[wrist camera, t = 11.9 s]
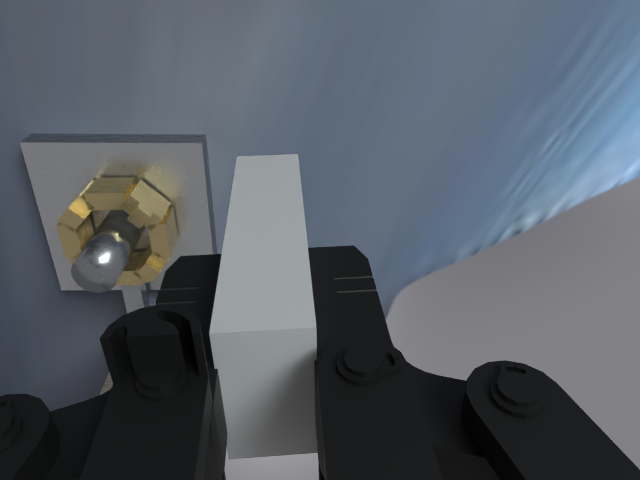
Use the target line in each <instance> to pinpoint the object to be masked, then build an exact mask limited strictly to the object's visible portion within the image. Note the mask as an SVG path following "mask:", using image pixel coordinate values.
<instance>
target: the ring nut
mask: <svg viewBox="0 0 640 480" xmlns="http://www.w3.org/2000/svg"><path fill="white" fill-rule="evenodd" d="M169 205H170V202H169V201H168V200H166V199H165V198H164V197H162V196H161V195H160V194H159V193H157V192H156V191H155V190H154V189H152V188H151V187H150V186H148V185H147V184H146V183H145V182H143V181H142V180H141V179H140V181H139V182H138V183H137V184H136V180H135V177H129V178H97V179H96V180H95V181H94V180H92V181H91V182H90V183H89V184H88V185H87V187H86V188H85V189H84V190H83V191H82V192H81V194H80V195H79V196H78V197H77V198H76V199H75V200H74V202H73V203H72V204H71V205H70V206H69V207H68V209H67V210H66V211H65V212H64V213H63V214H62V216H61V217H60V218H59V219H58V220H57V221H58V222H59V223H58V224H57V225H56V227H57V231H58V234H59V238H60V241H61V245H62V249H63V252H64V256H65V258H71V260H70V261H69V263H70V264H71V265H73V263H74V261H75V260H76V259H77V257H78V256H79V254H80V253H81V251H82V250H83V249H84V247H85V246H86V244H87V243H88V241H89V240H90V239H91V237H92V236H93V234H94V231H93V227H92V223H91V219H90V215H89V213H90V212H91V211H92V210H124V211H125V212H127V213H128V214H129V215H128V217H127V219H126V220H128V221H129V222H131V223H132V224H133V225H135V226H136V227H137V228H139V229H140V228H141V227H142V226H143V225H144V226H145V227H147V228H148V231H149V237H150V243H151V246H150V247H149V248H148V249H147V250H146V251H145V252H133V253H132V255H131V257H130V258H129V260H128V262H127V264H126V266H125V268H124V270H123V272H122V273H121V275H120V277H119V279H118V281H117V283H116V285H121V288H122V292H123V297H124V302H125V306H126V311H127V314H128V313H130V312H133V311H135V310H137V309H140V308H144V307H150V305H149V300H148V295H147V290H146V285H145V282H146V283H148V282H149V281H150V282H152V281H153V280H154V279H155V278H156V277H157V276H158V275H159V274H160V273H161V270H162V268H163V267H164V266H165V265H166V264H167V263H168V262H169V261H170V258H171V256H172V253H173V251H174V248H175V246H176V243H177V240H178V235H177V228H176V221H175V215H174V208H173V207H169ZM112 385H113V382H112V378H111V375H110V372H109V374H108V376H107V378H106V381H105V383H104V385H103V387H102V390H101V392H100V394H99V395H101V394H103V393H105V392H107V391H108V390H110V389H111V388H112Z"/></svg>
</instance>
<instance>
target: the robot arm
mask: <svg viewBox="0 0 640 480" xmlns="http://www.w3.org/2000/svg"><path fill="white" fill-rule="evenodd" d="M100 342H101V345H102V348H103V352H104V355H105V358H106V362H107V365H108V368H109V372H110V375H111V378H112V382H113V385H112V388H111V389H110V390H108V391H107V392H105V393H103V394H101V395H99V396H97V397H94V398H91V399H89V400H86V401H83V402H80V403H77V404H73V405H70V406H67V407H64V408H60V409H57V410H54V411H51V412H50V411H49V409H48V407H47V406H46V405H45V404H44V402H43V401H42V400H41V399H40V398H37V397H34V396H31V395H28V394H8V395H4V396H0V480H226V478H225V471H224V467H225V455H226V445H227V450H228V457H229V459H238V458H251V457H266V456H279V455H293V454H305V453H318V460H319V480H640V470H639V469H638V467H637V466H636V465H635V464H634V463H633V462H632V461H631V460H630V459H629V458H628V457H627V456H626V455H625V454H624V453H623V452H622V451H621V450H620V449H619V448H618V447H617V446H616V445H615V443H613V441H612V440H611V439H610V438H609V437H608V436H607V435H606V434H605V433H604V432H603V431H602V430H601V429H600V428H599V427H598V426H597V425H596V424H595V423H594V421H592V419H591V418H590V417H589V416H588V415H587V414H586V413H585V412H584V411H583V410H582V409H581V408H580V407H579V406H578V405H577V404H576V403H575V402H574V401H573V400H572V399H571V397H570V396H569V395H568V394H567V393H566V392H565V391H564V390H563V389H562V388H561V387H560V386H559V385H558V384H557V383H556V382H555V381H553V380H552V379H550V378H549V377H548V376H547V375H546V374H544V373H543V372H541V371H539V370H537V369H535V368H532V367H530V366H528V365H526V364H522V363H516V362H511V361H495V362H488V363H485V364H483V365H481V366H479V367H477V368H475V369H474V371H473V372H472V373H471V375H470V376H469V377H468V379H467V381H465V380H459V379H453V378H449V377H443V376H438V375H435V374H431V373H427V372H424V371H422V370H420V369H418V368H416V367H414V366H412V365H411V364H409V363H408V362H407V361H406V360H405V359H404V357H403V355H402V353H401V352H400V351H399V350H397V349H396V348H394V346H393V344H392V342H391V339H390V335H389V332H388V328H387V324H386V321H385V317H384V314H383V310H382V307H381V303H380V300H379V296H378V293H377V291H376V286H375V282H374V279H373V277H372V272H371V268H370V265H369V261H368V259H367V258H366V257H365V256H364V255H363V254H362V253H361V252H360V251H359V250H358V249H357V248H356V247H355V246H336V247H316V248H308V244H307V235H306V226H305V216H304V207H303V198H302V189H301V179H300V170H299V161H298V154H292V155H266V156H240V157H237V161H236V167H235V173H234V180H233V186H232V192H231V199H230V205H229V211H228V218H227V224H226V230H225V237H224V243H223V249H222V254H209V255H189V256H180V257H179V258H178V259H177V260H176V261H175V262H174V263H173V264H172V265H171V266H170V267H169V268H168V269H167V270H166V271H165V274H164V277H163V281H162V284H161V287H160V291H159V293H158V297H157V300H156V305H155V306H150V307H144V308H140V309H137V310H135V311H133V312H130V313H128V314H125V315H123V316H122V317H120V318H119V319H117V320H116V321H115V322H113V323H112V324H111V325H109V326H108V328H107V329H106V330H105V332H104V333H103V335H102V336H101V337H100Z"/></svg>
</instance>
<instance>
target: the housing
mask: <svg viewBox="0 0 640 480" xmlns="http://www.w3.org/2000/svg"><path fill="white" fill-rule="evenodd" d="M20 145H21V148H22V152H23V156H24V159H25V163H26V166H27V170H28V173H29V177H30V180H31V184H32V187H33V191H34V195H35V198H36V202H37V205H38V209H39V212H40V216H41V219H42V223H43V227H44V230H45V234H46V237H47V241H48V244H49V248H50V251H51V255H52V259H53V262H54V266H55V269H56V273H57V276H58V280H59V283H60V287H61V290H87V291H90V292H94V293H103V292H107V291H109V290H122V288H121V285H116V283H117V281H118V279H119V277H120V275H121V273H122V272H123V270H124V268H125V266H126V264H127V262H128V260H129V258H130V257H131V255H132V253H133V252H145V251H146V250H147V249H148V248H149V247H150V246H151V243H150V237H149V231H148V228H147V227H145V226H144V225H143V226H142V227H141V228H140V229H139V228H137V227H136V226H135V225H133V224H132V223H131V222H129V221H128V220H126V219H127V217H128V215H129V214H128V213H127V212H125V211H124V210H92V211H91V212H90V213H89V215H90V219H91V223H92V227H93V231H94V234H93V236H92V237H91V239H90V240H89V241H88V243H87V244H86V246H85V247H84V249H83V250H82V251H81V253H80V254H79V256H78V257H77V259H76V260H75V261H74V263H73V265H71V264H70V263H69V261H70V260H71V258H65V256H64V252H63V249H62V245H61V241H60V238H59V234H58V231H57V227H56V225H57V224H58V223H59V222H58V221H57V220H58V219H59V218H60V217H61V216H62V214H63V213H64V212H65V211H66V210H67V209H68V207H69V206H70V205H71V204H72V203H73V202H74V200H75V199H76V198H77V197H78V196H79V195H80V194H81V192H82V191H83V190H84V189H85V188H86V187H87V185H88V184H89V183H90V182H91V181H92V180H94V181H95V180H96V179H97V178H129V177H135V180H136V184H137V183H138V182H139V181H140V179H141V180H142V181H143V182H145V183H146V184H147V185H148V186H150V187H151V188H152V189H154V190H155V191H156V192H157V193H159V194H160V195H161V196H162V197H164V198H165V199H166V200H168V201H169V202H170V205H169V207H173V208H174V215H175V221H176V228H177V235H178V240H177V243H176V246H175V248H174V251H173V253H172V256H171V258H170V261H169V262H168V263H167V264H166V265H165V266H164V267H163V268H162V270H161V273H160V274H159V275H158V276H157V277H156V278H155V279H154V280H153V281H152V282H150V281H149V282H148V283H146V282H145V285H146V290H160V287H161V284H162V281H163V277H164V274H165V271H166V270H167V269H168V268H169V267H170V266H171V265H172V264H173V263H174V262H175V261H176V260H177V259H178V258H179V257H180V256H189V255H209V254H217V247H216V236H215V226H214V216H213V205H212V195H211V184H210V174H209V164H208V153H207V143H206V135H112V134H31V135H29V136H28V137H27V138H25V139H24V140H23V141H21V142H20Z"/></svg>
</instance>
